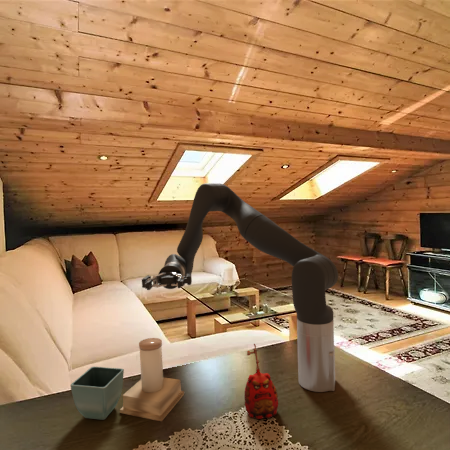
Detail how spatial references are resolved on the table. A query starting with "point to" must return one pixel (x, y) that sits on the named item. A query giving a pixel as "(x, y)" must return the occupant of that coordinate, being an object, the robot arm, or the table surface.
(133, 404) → the oak plinth
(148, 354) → the cream canister
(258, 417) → the red clay folk toy
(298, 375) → the robot arm
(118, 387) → the flower pot
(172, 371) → the table surface
